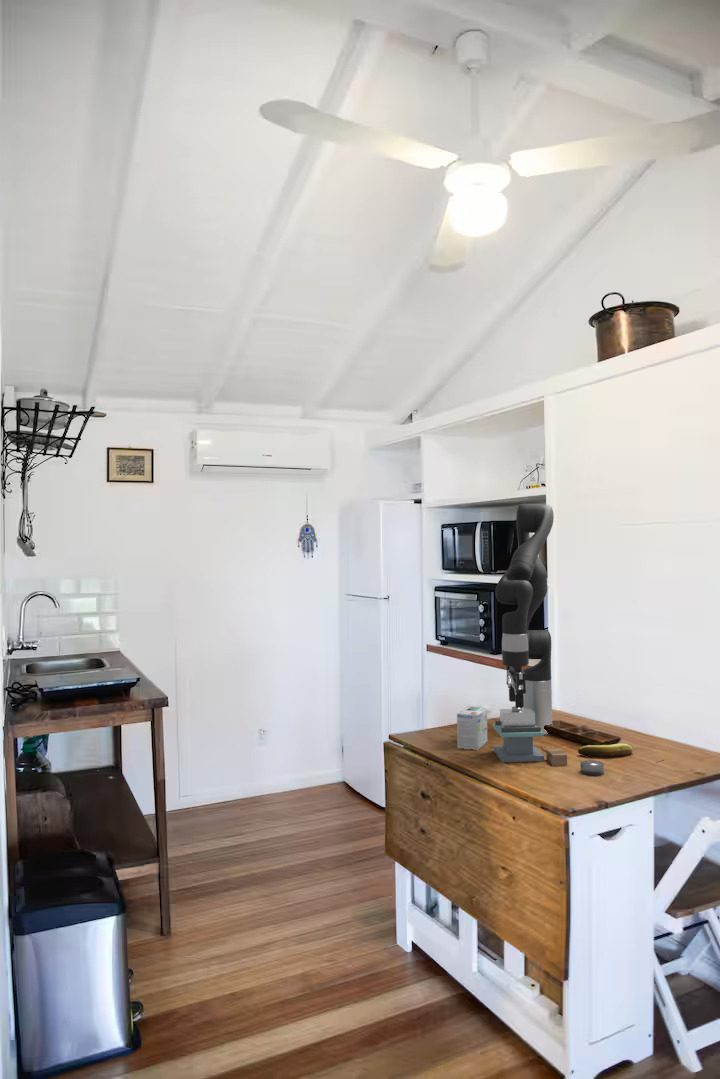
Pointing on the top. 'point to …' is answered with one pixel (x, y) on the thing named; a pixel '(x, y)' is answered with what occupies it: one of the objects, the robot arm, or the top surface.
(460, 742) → the light bulb box
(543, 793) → the top surface
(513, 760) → the stand
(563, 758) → the wood offcut
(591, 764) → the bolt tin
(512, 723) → the block
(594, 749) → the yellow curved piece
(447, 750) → the top surface
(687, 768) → the top surface
